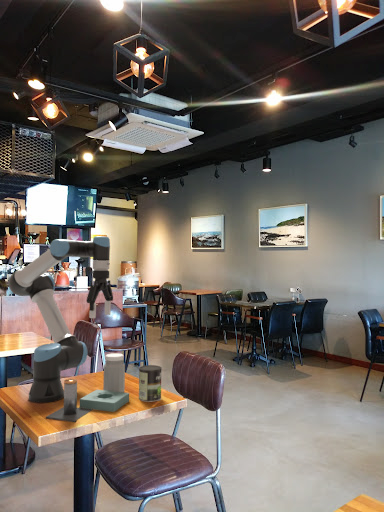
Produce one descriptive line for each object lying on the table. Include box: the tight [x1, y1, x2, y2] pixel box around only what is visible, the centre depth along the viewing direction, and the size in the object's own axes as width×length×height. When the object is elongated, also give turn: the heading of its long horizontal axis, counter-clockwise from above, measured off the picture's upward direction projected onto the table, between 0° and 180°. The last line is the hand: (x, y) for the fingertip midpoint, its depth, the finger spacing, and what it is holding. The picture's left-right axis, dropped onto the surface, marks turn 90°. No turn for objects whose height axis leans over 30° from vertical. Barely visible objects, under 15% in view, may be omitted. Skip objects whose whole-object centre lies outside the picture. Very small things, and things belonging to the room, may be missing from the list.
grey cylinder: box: [63, 378, 78, 415], centre depth 163 cm, size 5×5×13 cm
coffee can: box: [138, 364, 163, 403], centre depth 183 cm, size 10×10×14 cm
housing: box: [79, 389, 130, 413], centre depth 174 cm, size 16×14×4 cm
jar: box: [102, 352, 126, 393], centre depth 190 cm, size 10×10×18 cm
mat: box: [45, 406, 94, 423], centre depth 162 cm, size 13×13×1 cm
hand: (100, 316), depth 185 cm, fingers open, 13 cm apart
